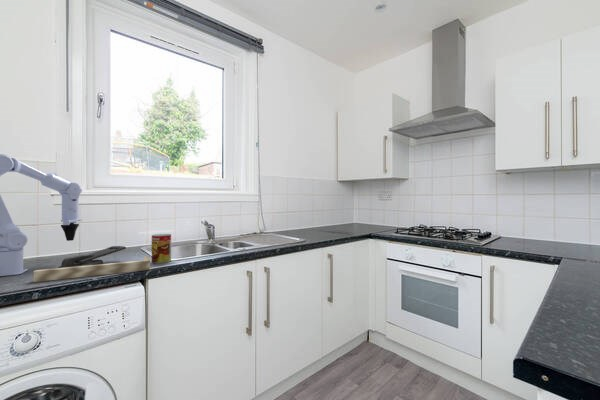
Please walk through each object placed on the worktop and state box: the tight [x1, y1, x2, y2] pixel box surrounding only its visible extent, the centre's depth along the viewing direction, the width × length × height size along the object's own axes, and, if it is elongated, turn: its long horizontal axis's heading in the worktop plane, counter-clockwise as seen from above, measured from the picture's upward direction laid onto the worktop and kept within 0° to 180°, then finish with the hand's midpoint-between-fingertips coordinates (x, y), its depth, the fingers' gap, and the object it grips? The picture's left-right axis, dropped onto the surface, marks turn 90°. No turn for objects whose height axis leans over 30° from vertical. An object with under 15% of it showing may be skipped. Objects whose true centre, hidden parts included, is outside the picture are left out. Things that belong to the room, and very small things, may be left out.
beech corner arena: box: [33, 254, 151, 283], centre depth 105 cm, size 34×13×4 cm, turn 119°
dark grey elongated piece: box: [57, 245, 127, 268], centre depth 115 cm, size 9×7×25 cm
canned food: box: [151, 233, 172, 264], centre depth 123 cm, size 8×8×12 cm
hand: (70, 240), depth 121 cm, fingers closed
